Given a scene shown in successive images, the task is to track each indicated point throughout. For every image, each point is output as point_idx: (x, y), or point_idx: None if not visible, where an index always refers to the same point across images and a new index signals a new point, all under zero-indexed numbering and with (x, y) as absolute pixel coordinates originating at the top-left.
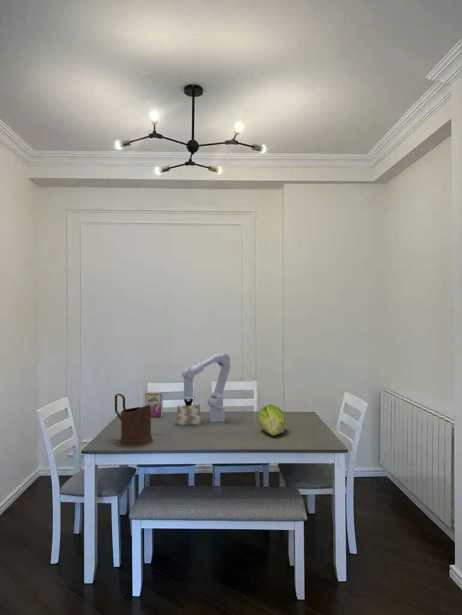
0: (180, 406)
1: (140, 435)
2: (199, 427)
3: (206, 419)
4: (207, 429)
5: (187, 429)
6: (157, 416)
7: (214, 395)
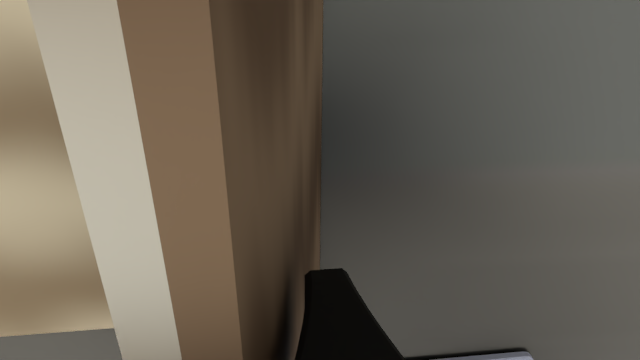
0: (82, 198)
1: None
2: None
3: (633, 320)
4: (97, 355)
5: None
6: None
7: None
